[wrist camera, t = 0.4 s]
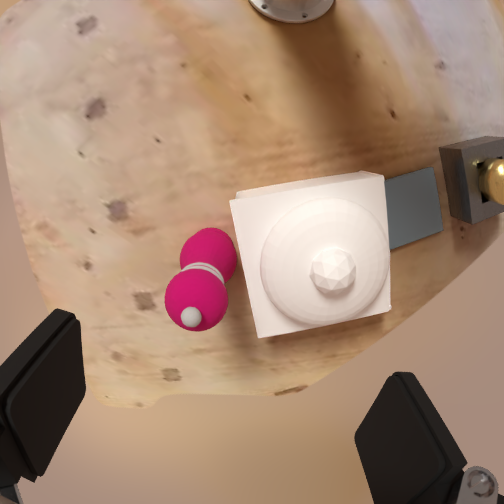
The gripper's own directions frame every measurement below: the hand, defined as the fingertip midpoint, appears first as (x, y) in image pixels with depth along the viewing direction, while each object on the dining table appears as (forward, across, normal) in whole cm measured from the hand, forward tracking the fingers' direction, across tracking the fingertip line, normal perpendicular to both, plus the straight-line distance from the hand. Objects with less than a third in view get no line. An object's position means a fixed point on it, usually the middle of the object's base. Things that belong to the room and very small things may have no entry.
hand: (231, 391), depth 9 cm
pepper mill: (+36, +3, +8) cm, 37 cm away
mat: (+36, -24, -5) cm, 44 cm away
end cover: (+35, -34, -13) cm, 51 cm away
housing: (+36, -34, -13) cm, 51 cm away
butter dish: (+37, -10, +4) cm, 38 cm away
